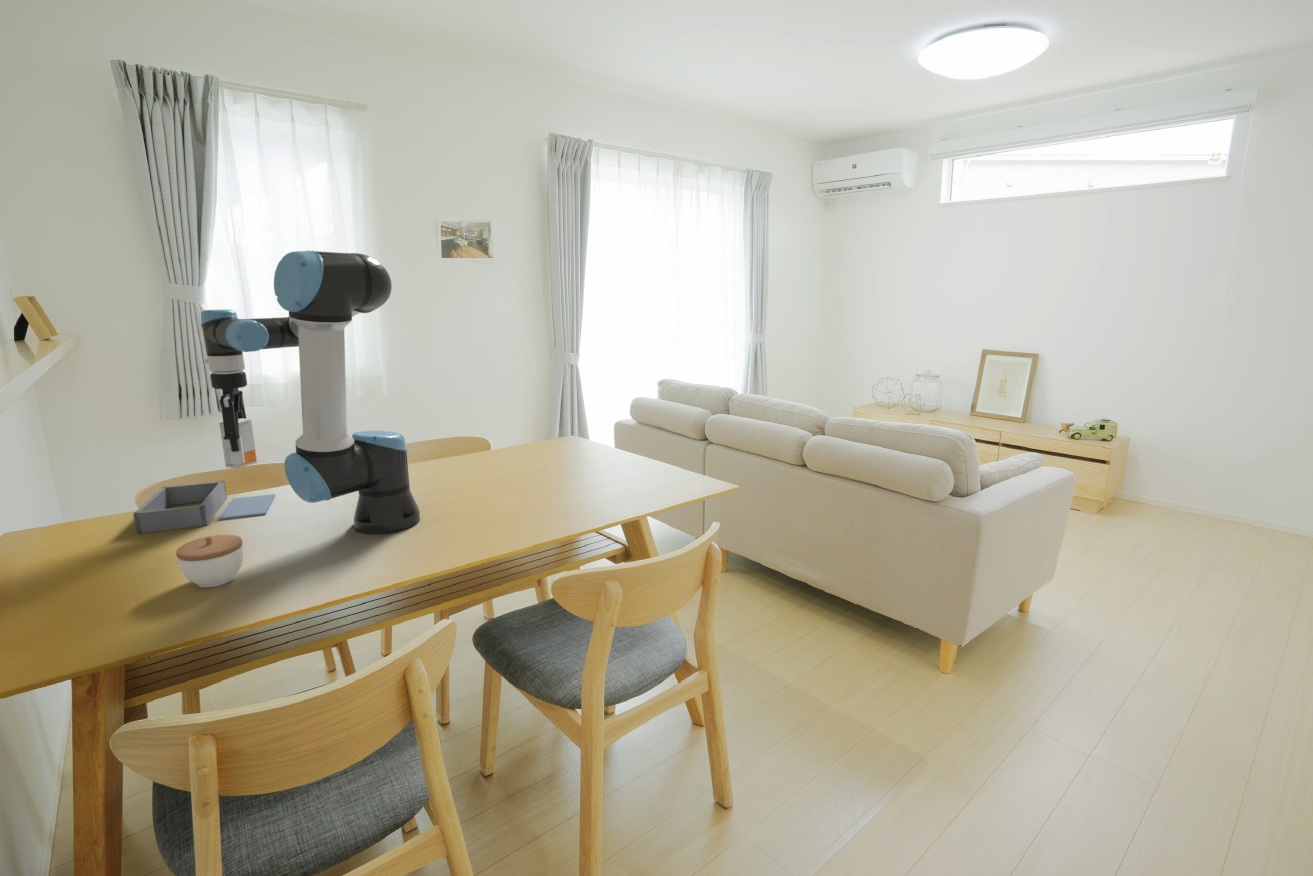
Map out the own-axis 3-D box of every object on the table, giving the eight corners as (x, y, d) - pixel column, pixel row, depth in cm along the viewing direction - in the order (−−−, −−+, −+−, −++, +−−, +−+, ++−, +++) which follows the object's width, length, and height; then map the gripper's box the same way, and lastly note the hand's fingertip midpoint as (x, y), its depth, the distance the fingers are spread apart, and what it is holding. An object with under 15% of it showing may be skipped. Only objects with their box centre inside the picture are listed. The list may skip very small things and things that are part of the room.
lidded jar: (204, 569, 131) (196, 527, 129) (258, 568, 132) (251, 526, 129) (169, 594, 120) (160, 548, 118) (228, 592, 121) (220, 547, 119)
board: (265, 514, 162) (265, 512, 162) (219, 520, 158) (219, 517, 158) (275, 496, 176) (275, 494, 176) (233, 500, 173) (233, 498, 172)
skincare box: (239, 469, 161) (232, 423, 158) (225, 467, 162) (218, 422, 159) (258, 462, 167) (251, 418, 164) (244, 461, 168) (238, 417, 165)
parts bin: (207, 525, 155) (204, 506, 154) (137, 533, 149) (133, 513, 148) (227, 498, 174) (224, 480, 173) (165, 504, 169) (162, 486, 168)
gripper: (219, 367, 166) (232, 451, 172) (199, 377, 148) (215, 471, 154) (252, 366, 169) (264, 448, 175) (236, 376, 151) (250, 467, 157)
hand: (241, 459), depth 164 cm, fingers closed on skincare box, 7 cm apart
